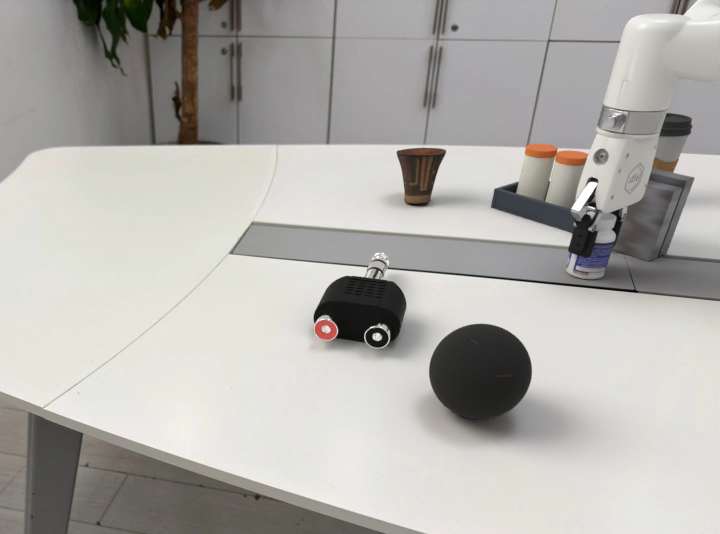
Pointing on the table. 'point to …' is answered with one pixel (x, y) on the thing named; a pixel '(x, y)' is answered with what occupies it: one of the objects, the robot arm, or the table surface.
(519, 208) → the tray
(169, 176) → the table surface
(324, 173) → the table surface
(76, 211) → the table surface
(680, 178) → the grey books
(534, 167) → the white bottles
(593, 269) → the pill bottle
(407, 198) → the cup
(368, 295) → the audio adapter
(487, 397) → the speaker
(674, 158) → the coffee cup
